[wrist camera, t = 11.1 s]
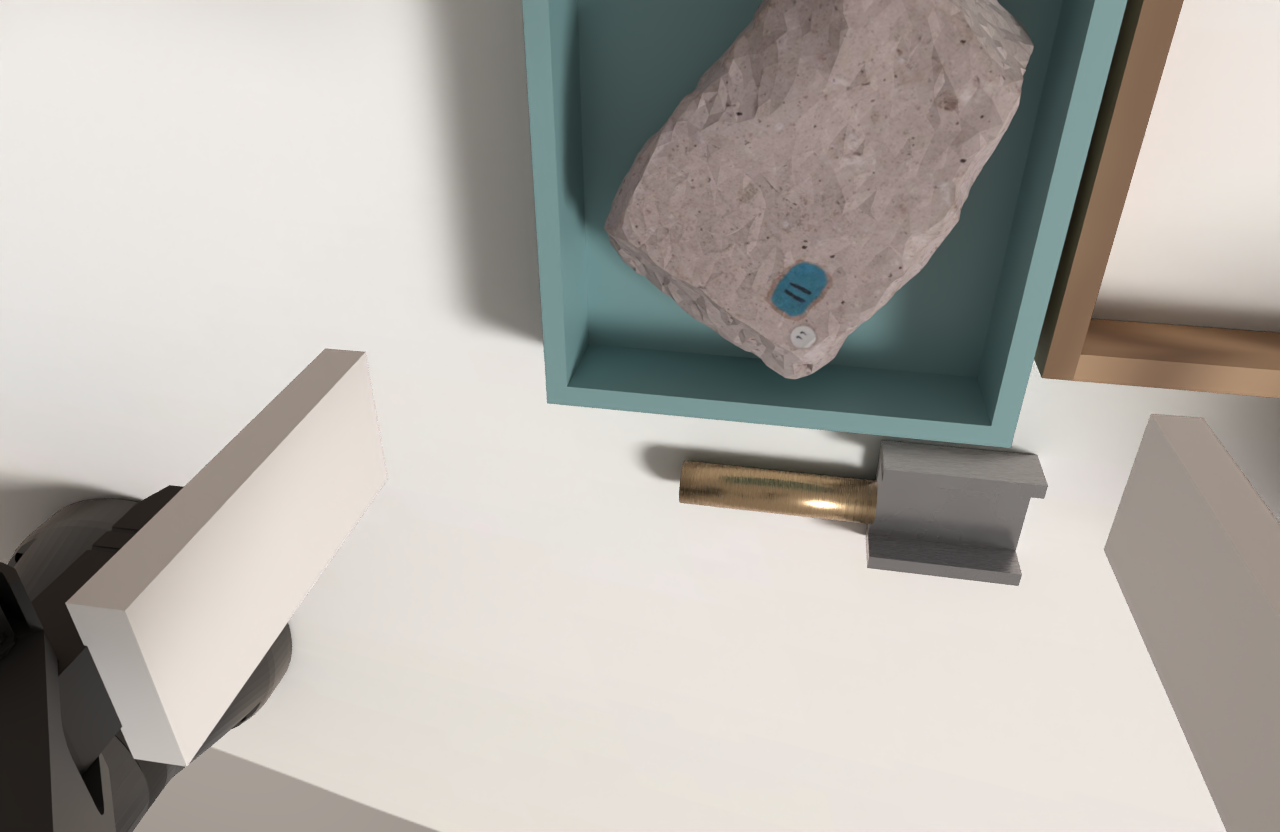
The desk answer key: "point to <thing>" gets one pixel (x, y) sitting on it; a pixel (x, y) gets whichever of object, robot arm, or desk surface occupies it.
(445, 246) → the desk surface
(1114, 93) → the frame
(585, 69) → the bin
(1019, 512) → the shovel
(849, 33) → the stone
